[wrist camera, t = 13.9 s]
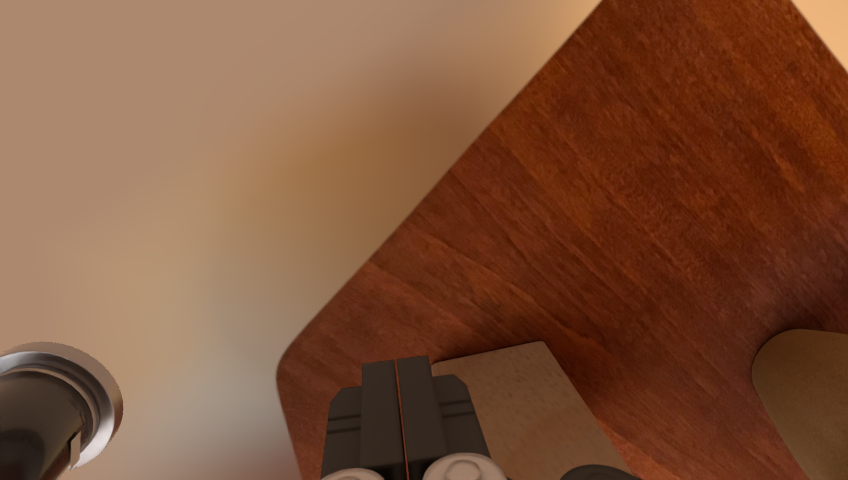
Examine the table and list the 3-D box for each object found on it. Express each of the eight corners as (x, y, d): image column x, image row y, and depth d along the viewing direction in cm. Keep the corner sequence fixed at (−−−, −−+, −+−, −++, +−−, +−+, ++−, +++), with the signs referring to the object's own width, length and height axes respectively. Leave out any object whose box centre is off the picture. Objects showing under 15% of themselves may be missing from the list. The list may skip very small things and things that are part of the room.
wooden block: (543, 337, 45) (667, 518, 26) (556, 435, 48) (676, 663, 29) (429, 361, 45) (469, 562, 26) (449, 458, 48) (498, 705, 29)
